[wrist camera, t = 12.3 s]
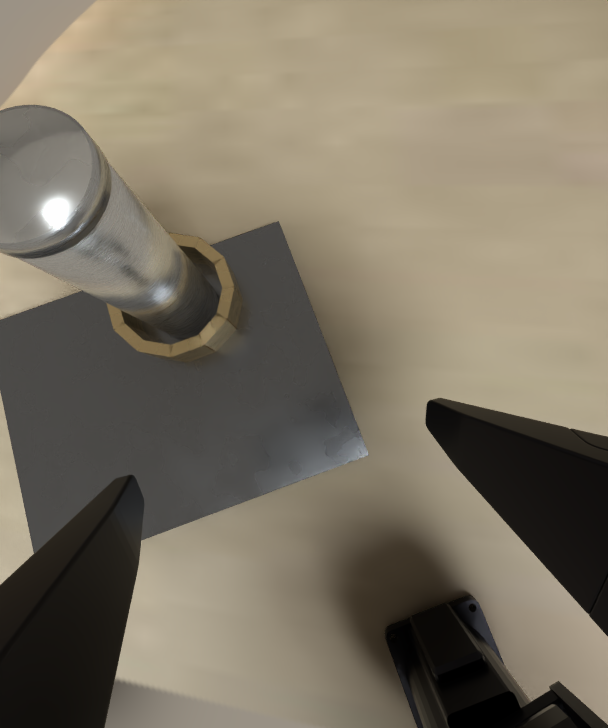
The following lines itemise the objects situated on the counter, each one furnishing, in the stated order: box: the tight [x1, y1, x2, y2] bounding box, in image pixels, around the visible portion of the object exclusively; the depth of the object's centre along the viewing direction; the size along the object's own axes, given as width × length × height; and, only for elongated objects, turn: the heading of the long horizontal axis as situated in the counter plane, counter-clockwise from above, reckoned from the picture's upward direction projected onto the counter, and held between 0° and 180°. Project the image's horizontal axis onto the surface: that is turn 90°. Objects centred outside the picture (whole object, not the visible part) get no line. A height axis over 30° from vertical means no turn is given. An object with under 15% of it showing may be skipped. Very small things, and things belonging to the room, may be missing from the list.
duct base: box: [0, 221, 369, 553], centre depth 21 cm, size 19×24×3 cm
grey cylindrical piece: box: [0, 105, 218, 338], centre depth 16 cm, size 5×5×13 cm
